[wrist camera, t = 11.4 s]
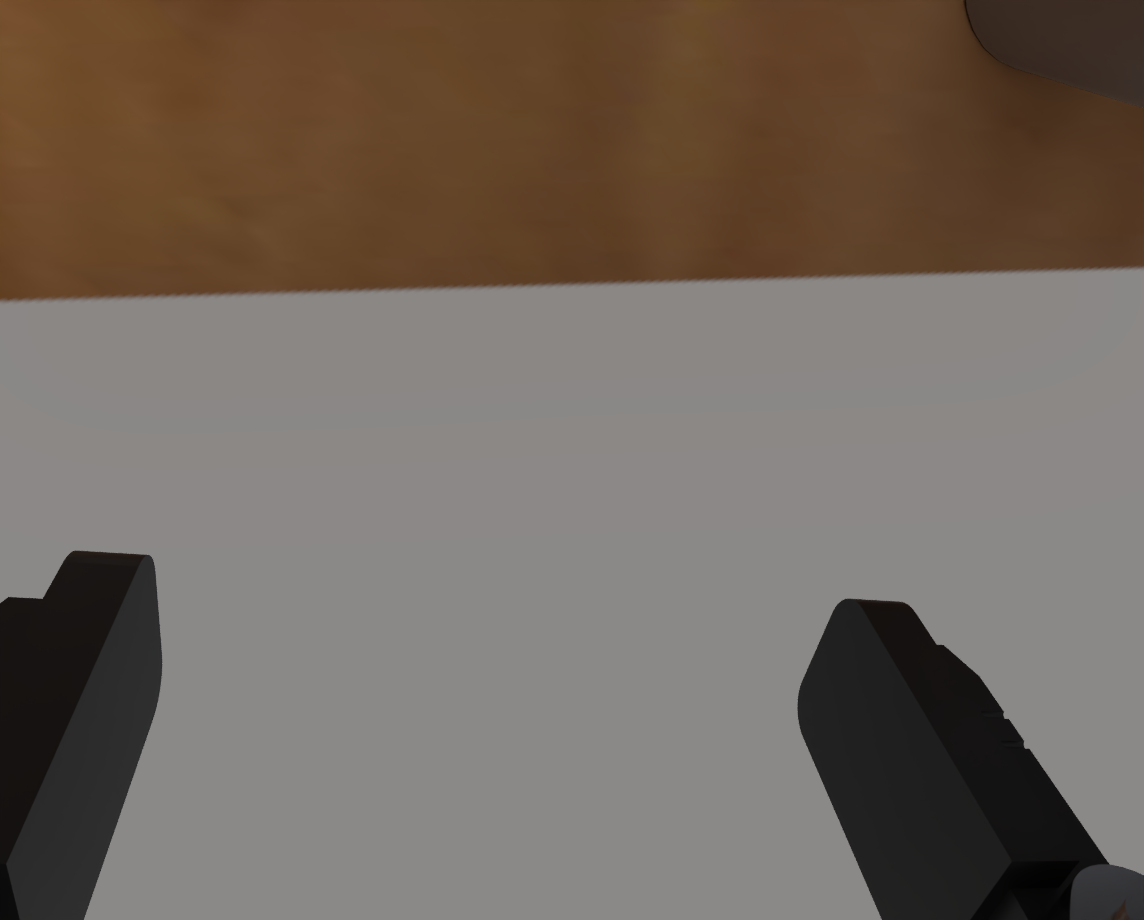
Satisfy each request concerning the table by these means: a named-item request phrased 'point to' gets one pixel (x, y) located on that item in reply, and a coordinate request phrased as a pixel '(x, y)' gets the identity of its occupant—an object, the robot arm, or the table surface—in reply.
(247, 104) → the table surface
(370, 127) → the table surface
